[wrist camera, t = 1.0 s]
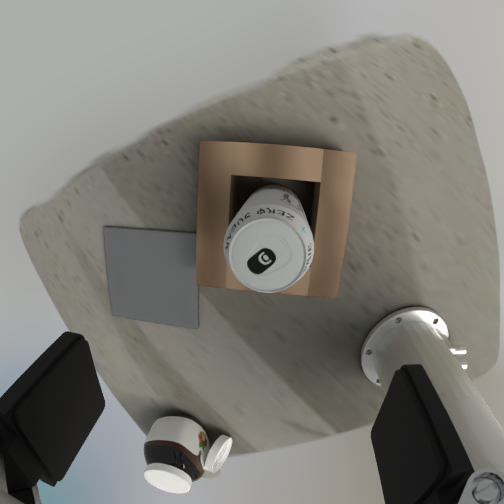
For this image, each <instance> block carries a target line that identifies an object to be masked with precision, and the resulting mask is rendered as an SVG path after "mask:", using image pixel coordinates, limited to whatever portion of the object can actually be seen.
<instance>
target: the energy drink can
mask: <svg viewBox="0 0 504 504" xmlns="http://www.w3.org/2000/svg"><path fill="white" fill-rule="evenodd" d="M223 247H224V256H225V259H226V262H227V264H228V266H229V268H230V270H231V271H232V272H233V274H234V275H235V276H236V278H237V279H238V280H239V281H240V282H241V283H242V284H243V285H245V286H246V287H248V288H250V289H252V290H255V291H257V292H263V293H274V292H279V291H282V290H284V289H287V288H288V287H290V286H292V285H293V284H294V283H296V282H297V281H298V280H299V279H300V278H302V277H303V276H304V274H305V273H306V272H307V270H308V269H309V267H310V265H311V262H312V260H313V255H314V240H313V235H312V232H311V229H310V227H309V224H308V221H307V218H306V216H305V213H304V210H303V208H302V205H301V203H300V200H299V199H298V197H297V196H296V194H294V193H293V192H292V191H291V190H290V189H288V188H286V187H284V186H280V185H267V186H263V187H261V188H259V189H257V190H256V191H254V192H253V193H252V195H251V196H250V197H249V198H248V200H247V201H246V202H245V204H244V205H243V206H242V208H241V209H240V211H239V212H238V213H237V215H236V216H235V217H234V219H233V220H232V222H231V223H230V225H229V227H228V228H227V231H226V234H225V237H224V244H223Z"/></svg>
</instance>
